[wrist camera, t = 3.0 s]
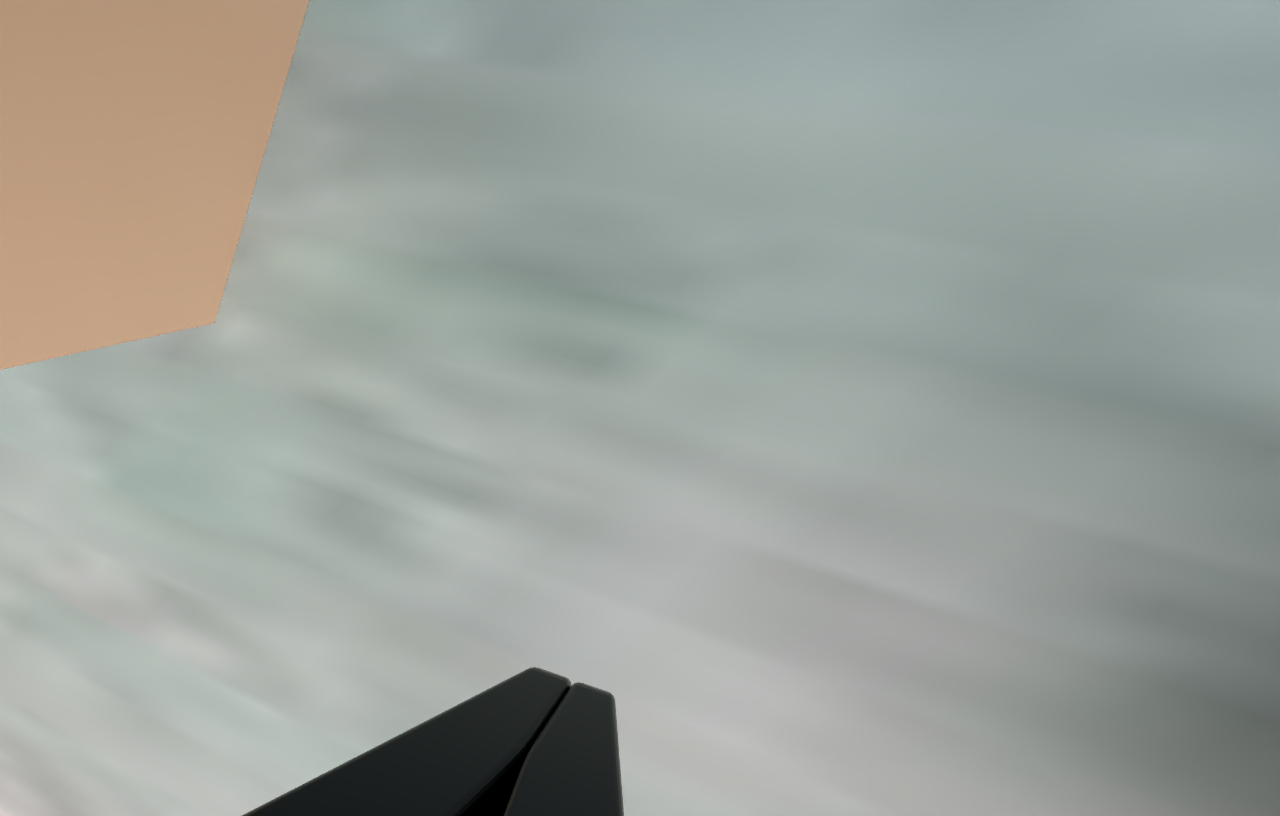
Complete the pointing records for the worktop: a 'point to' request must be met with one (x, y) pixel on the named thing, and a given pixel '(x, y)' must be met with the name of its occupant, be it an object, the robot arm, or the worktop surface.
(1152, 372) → the worktop surface
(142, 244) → the tile
